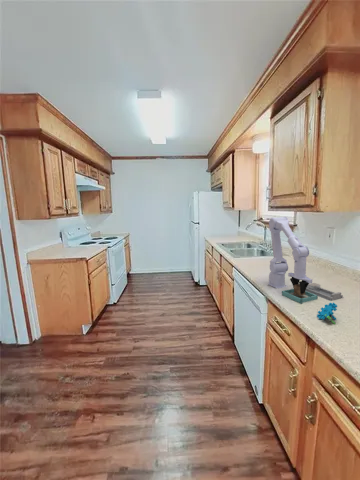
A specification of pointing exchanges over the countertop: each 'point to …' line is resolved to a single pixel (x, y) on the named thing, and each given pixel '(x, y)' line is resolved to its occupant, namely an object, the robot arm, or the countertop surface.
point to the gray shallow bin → (325, 294)
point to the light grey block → (314, 286)
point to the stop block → (297, 290)
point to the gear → (328, 312)
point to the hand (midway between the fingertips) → (299, 291)
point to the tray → (299, 300)
